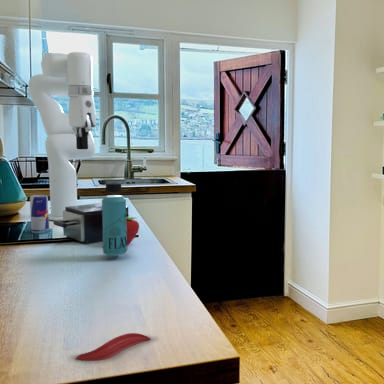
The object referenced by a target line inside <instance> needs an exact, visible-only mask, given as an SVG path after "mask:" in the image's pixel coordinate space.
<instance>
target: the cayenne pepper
mask: <svg viewBox="0 0 384 384" xmlns="http://www.w3.org/2000/svg"><path fill="white" fill-rule="evenodd" d="M151 340H152V339H151V338H150V336H147V335H144V334H141V333H137V332H128V333H124V334H121V335H118V336H115V337H113V338H112V339H110V340H108V341H107V342H105V343H103V344H102V345H100V346H99V347H97V348H95V349H93V350H91V351H88V352H85V353H81V354H78V355H77V356H76V357H75V358H76V359H77V360H79V361H101V360H106V359H109V358H112V357H114V356H116V355H118V354H119V353H120V352H122V351H124V350H125V349H128V348H130V347H132V346H134V345H137V344H140V343H143V342H147V341H151Z"/></svg>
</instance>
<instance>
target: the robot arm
mask: <svg viewBox="0 0 384 384" xmlns="http://www.w3.org/2000/svg"><path fill="white" fill-rule="evenodd" d="M40 67H41V70H42V72H43V73H39V74H35V75H32V76H31V77H30V78H29V79H28V92H29V95H30V100H31V102H32V103H33V105H34V106H35V108H36V109H37V112H38V113H39V115H40V118H41V122H42V126H43V129H44V132H45V134H46V135H47V138H46V139H45V143H44V145H45V152H46V156H47V157H46V158H47V163H48V178H49V202H50V204H49V205H50V206H49V210H50V213H48V215H49V221H55V220H57V221H63V210H66V209H65V207H70V206H78V185H77V184H78V183H77V181H78V180H77V170H76V168H75V167H74V165H73V164H72V163H71V162H70V160H88V159H91V158H93V157H94V156H95V153H96V143H95V140H94V137H93V134H92V129H93V128H95V127H96V126H97V114H96V105H95V98H94V91H93V90H94V89H93V88H94V87H93V86H94V85H93V57H92V56H91V54H90V53H86V52H83V51H71V52H69V53H59V52H58V53H55V52H45V53H44V54H43V55H42V59H41V61H40ZM52 97H56V98H69V99H68V113H65V112H64V110H63V107H62V106H61V104H60V103H59V102H58V101H57V100H56V99H55V98H52Z"/></svg>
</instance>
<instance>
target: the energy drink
mask: <svg viewBox="0 0 384 384" xmlns="http://www.w3.org/2000/svg"><path fill="white" fill-rule="evenodd" d="M29 204H30V205H29V207H30V208H29V209H30V211H29V212H30V227H31V228H30V230H31V233H32V234H37V235H38V234H39V235H41V234H46V233H48V232H49V231H50V220H49V215H48V214H49V198H48V195H47V194H32V195H30V197H29Z"/></svg>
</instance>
